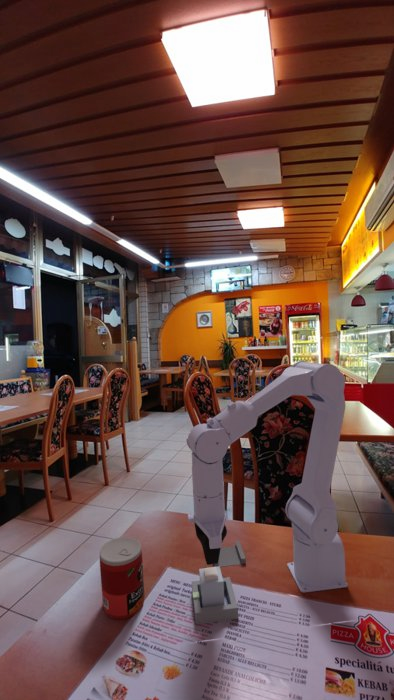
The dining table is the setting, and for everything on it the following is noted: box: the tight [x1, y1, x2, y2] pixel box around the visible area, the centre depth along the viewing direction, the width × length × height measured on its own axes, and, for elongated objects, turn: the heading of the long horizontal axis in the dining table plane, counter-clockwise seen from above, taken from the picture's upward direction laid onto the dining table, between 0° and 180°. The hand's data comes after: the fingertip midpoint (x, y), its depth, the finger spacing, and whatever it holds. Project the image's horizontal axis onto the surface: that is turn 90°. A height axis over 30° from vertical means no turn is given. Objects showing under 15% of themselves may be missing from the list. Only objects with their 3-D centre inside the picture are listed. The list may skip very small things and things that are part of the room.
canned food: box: [99, 536, 145, 620], centre depth 65 cm, size 8×8×11 cm
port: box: [191, 576, 239, 625], centre depth 64 cm, size 8×8×2 cm
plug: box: [198, 566, 226, 608], centre depth 63 cm, size 4×4×7 cm
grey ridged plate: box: [213, 540, 247, 568], centre depth 77 cm, size 7×6×1 cm
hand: (211, 561), depth 63 cm, fingers closed
